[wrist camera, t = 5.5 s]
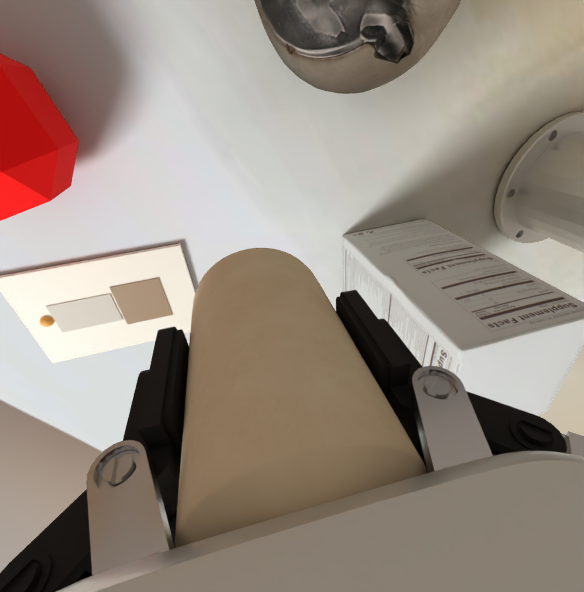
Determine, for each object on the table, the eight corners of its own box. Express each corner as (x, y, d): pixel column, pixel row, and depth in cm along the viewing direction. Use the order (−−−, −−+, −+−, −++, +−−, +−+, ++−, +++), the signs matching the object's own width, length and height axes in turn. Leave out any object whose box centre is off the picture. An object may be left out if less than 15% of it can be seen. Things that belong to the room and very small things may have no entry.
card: (180, 243, 26) (179, 248, 26) (206, 325, 32) (206, 331, 31) (-5, 276, 24) (-12, 283, 24) (54, 359, 29) (50, 367, 29)
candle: (193, 240, 12) (158, 589, 3) (330, 250, 13) (533, 510, 5) (191, 352, 14) (171, 694, 6) (306, 350, 16) (409, 623, 8)
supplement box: (416, 294, 36) (548, 416, 23) (341, 312, 35) (434, 453, 21) (428, 214, 31) (610, 311, 17) (340, 232, 30) (463, 351, 16)
